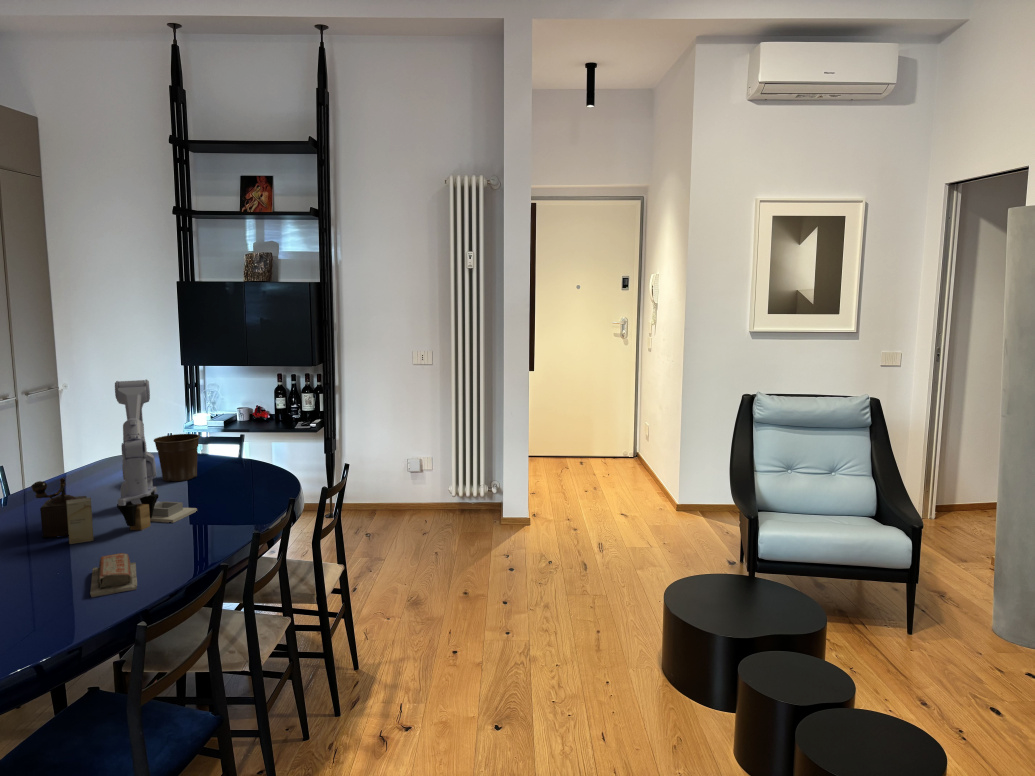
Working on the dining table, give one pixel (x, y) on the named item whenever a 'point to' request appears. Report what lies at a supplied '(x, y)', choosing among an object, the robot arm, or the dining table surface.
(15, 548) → the dining table surface
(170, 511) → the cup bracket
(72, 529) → the skincare box
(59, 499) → the manual coffee grinder
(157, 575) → the dining table surface
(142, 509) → the wooden block
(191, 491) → the dining table surface
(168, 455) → the plant pot
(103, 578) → the packaged product
